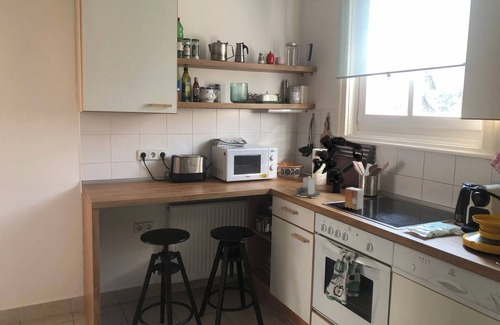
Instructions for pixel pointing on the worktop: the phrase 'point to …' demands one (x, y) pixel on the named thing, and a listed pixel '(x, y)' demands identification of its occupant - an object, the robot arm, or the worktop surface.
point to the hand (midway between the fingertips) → (317, 173)
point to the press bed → (300, 192)
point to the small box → (354, 198)
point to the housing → (308, 185)
